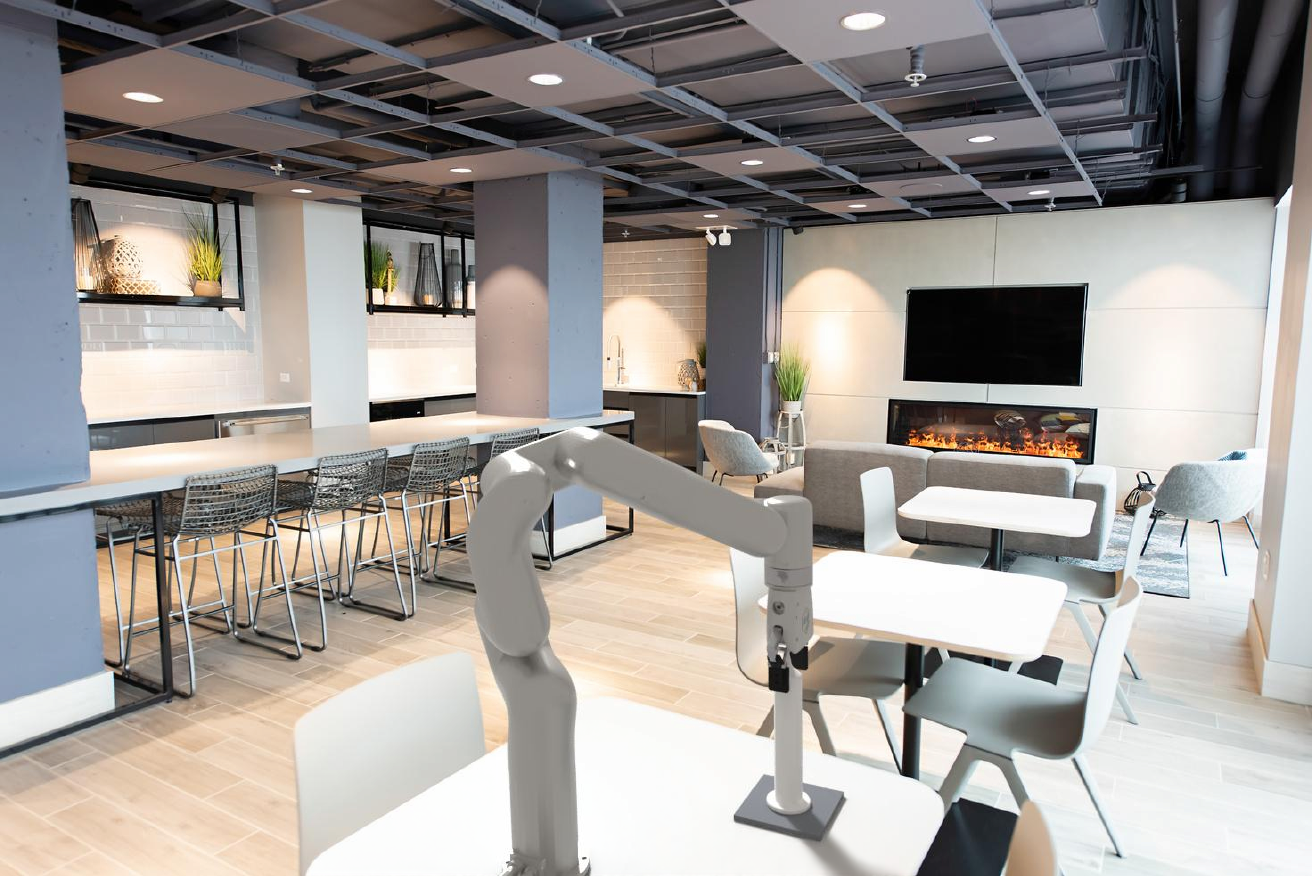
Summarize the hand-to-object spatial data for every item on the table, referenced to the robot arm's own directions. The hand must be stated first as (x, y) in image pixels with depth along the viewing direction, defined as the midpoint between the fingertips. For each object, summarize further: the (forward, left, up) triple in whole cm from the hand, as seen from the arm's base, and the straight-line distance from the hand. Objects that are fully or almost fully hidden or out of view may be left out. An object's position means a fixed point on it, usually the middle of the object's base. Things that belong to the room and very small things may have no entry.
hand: (788, 679), depth 136 cm
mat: (0, 0, -22) cm, 22 cm away
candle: (0, 0, -21) cm, 21 cm away
